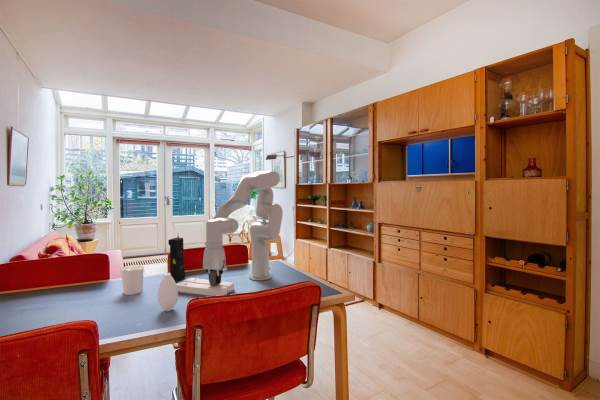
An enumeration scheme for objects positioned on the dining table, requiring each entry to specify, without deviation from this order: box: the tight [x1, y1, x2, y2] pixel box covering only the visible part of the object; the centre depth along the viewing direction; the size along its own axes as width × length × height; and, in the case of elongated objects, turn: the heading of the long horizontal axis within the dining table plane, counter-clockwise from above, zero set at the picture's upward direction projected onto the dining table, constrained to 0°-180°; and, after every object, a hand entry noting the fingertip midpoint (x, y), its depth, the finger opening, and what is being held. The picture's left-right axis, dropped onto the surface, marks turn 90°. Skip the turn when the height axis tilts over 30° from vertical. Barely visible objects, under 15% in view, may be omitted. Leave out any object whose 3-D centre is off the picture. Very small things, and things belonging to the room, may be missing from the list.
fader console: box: [176, 277, 235, 298], centre depth 154 cm, size 12×26×4 cm, turn 72°
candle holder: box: [120, 264, 145, 296], centre depth 153 cm, size 10×10×12 cm
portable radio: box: [167, 233, 186, 282], centre depth 173 cm, size 8×6×25 cm
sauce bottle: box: [157, 267, 179, 312], centre depth 131 cm, size 8×8×18 cm
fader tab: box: [210, 270, 220, 286], centre depth 152 cm, size 4×3×10 cm
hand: (215, 282), depth 152 cm, fingers closed on fader tab, 3 cm apart
